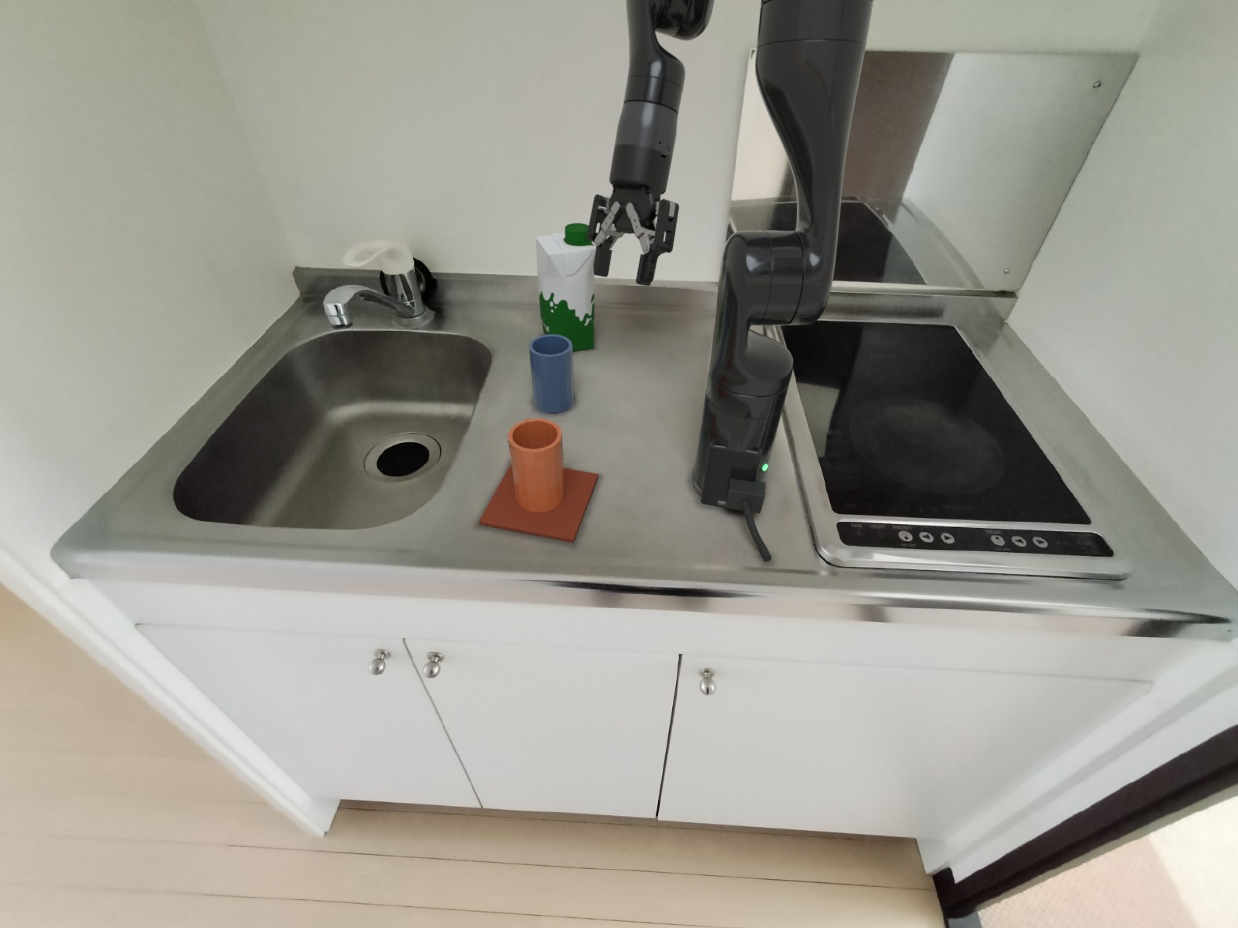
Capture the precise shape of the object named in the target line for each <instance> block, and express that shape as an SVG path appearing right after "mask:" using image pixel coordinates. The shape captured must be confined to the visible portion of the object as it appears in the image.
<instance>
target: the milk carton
mask: <svg viewBox="0 0 1238 928" xmlns="http://www.w3.org/2000/svg"><path fill="white" fill-rule="evenodd" d="M588 227H589V224H586V223H582V222H573V223H568V224H566V225H565V226H564V232H561V233H550V234H549V235H540V236H535V248H536V250H535V251H536V271H537V285H538V300H539V311H540V312H539V313H540V314H539V315H540V322H541V326H542V327H541V328H542V331H543V335H550V334H555V335H561V336H564V337H566V338H568V339H569V340H570V341H571V342H572V347H573V353H574V352H579V351H580V352H581V351H586V350H591V349H594V348H595V275H594V269H593V265H594V259H595V252H596V246H595V244H594V243H593V242H592V241H591V240H588V239H587V232H588Z"/></svg>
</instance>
